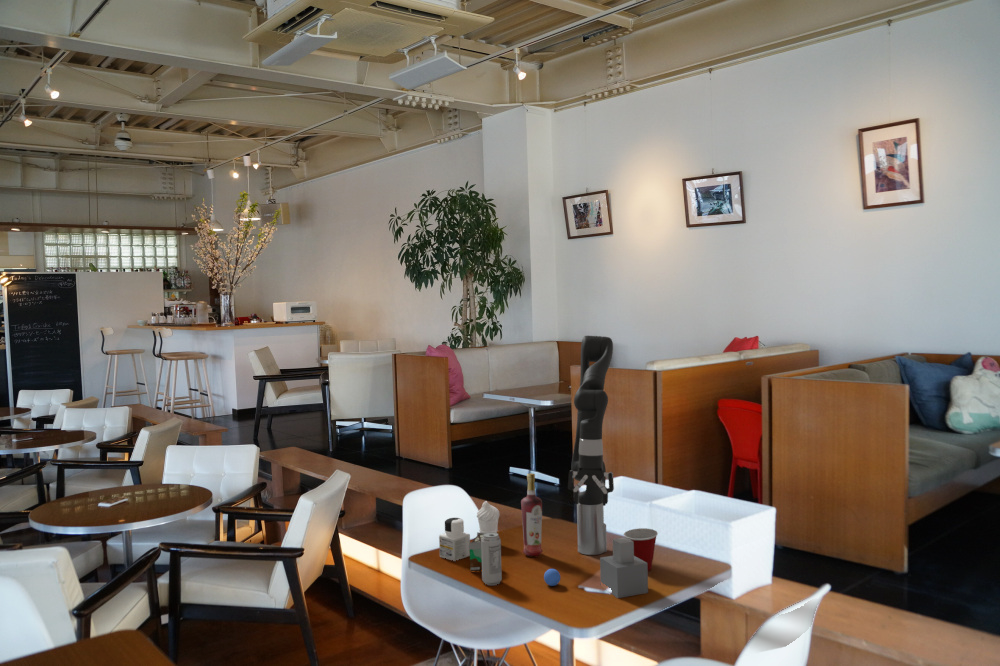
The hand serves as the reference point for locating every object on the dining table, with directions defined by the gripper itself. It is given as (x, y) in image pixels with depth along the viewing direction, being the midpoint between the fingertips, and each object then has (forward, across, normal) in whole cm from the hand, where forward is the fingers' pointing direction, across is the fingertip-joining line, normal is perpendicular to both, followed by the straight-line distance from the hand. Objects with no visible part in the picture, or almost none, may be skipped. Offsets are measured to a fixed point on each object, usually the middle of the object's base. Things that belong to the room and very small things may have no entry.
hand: (590, 504), depth 231 cm
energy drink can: (+24, +29, +11) cm, 39 cm away
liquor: (+22, +22, -17) cm, 36 cm away
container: (+23, +48, -11) cm, 55 cm away
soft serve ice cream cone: (+22, +40, -25) cm, 53 cm away
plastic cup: (+22, -15, -10) cm, 28 cm away
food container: (+24, +36, -2) cm, 43 cm away
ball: (+21, +10, +10) cm, 25 cm away
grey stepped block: (+23, -11, +9) cm, 27 cm away
